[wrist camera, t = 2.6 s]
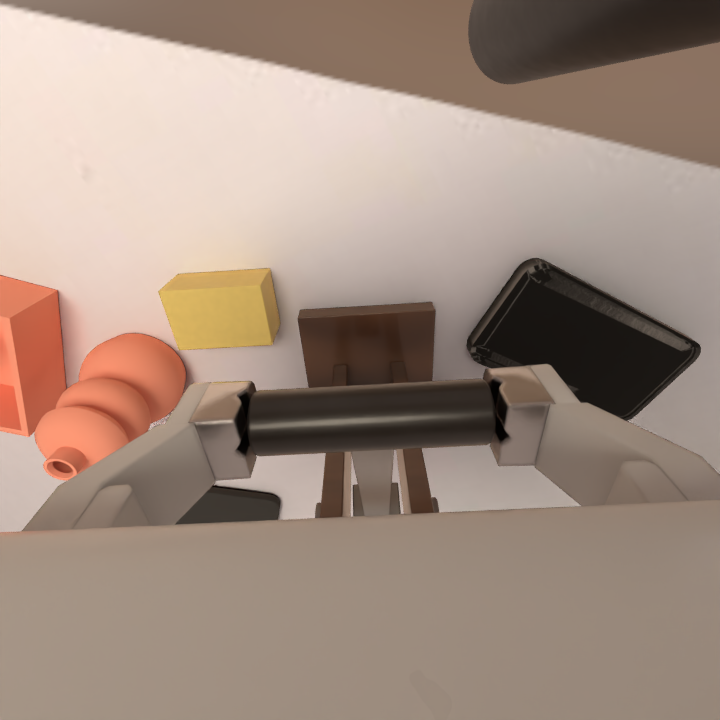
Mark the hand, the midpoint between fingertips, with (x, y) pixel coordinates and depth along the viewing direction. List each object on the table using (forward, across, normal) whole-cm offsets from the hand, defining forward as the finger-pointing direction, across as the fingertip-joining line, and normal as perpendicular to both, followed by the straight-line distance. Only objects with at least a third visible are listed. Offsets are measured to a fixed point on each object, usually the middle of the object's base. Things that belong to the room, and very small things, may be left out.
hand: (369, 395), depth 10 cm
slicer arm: (+3, 0, +5) cm, 6 cm away
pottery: (+17, +22, +7) cm, 28 cm away
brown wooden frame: (+16, 0, +11) cm, 20 cm away
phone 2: (+16, -15, +9) cm, 24 cm away
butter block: (+16, +9, +4) cm, 19 cm away
